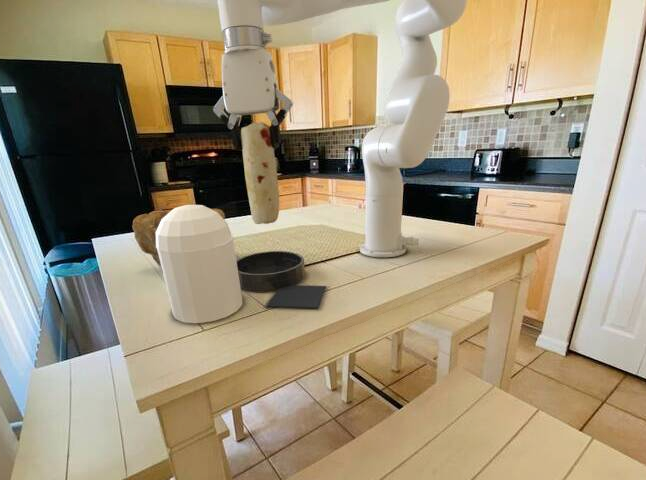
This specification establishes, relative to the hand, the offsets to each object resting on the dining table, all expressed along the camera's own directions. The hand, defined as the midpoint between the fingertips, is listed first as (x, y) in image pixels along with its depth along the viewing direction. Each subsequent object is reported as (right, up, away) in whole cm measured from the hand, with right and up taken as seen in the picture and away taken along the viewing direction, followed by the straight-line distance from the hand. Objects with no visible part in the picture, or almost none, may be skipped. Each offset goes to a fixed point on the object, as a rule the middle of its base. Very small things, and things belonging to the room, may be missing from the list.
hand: (257, 148), depth 68 cm
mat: (+8, -30, 0) cm, 31 cm away
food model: (+1, -14, +6) cm, 15 cm away
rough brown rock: (-21, -24, +20) cm, 38 cm away
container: (-9, -32, -2) cm, 34 cm away
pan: (+1, -26, +11) cm, 28 cm away
